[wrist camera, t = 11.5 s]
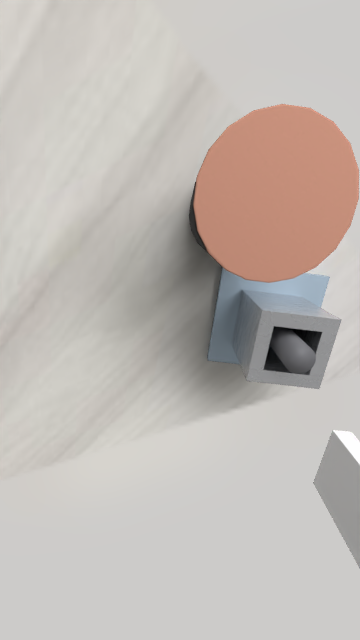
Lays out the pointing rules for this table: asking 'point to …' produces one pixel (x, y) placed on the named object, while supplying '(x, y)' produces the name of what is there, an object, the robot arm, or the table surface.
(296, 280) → the blue base with peg
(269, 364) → the square metal tube
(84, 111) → the table surface
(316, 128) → the coffee jar
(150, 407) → the table surface
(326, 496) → the robot arm
